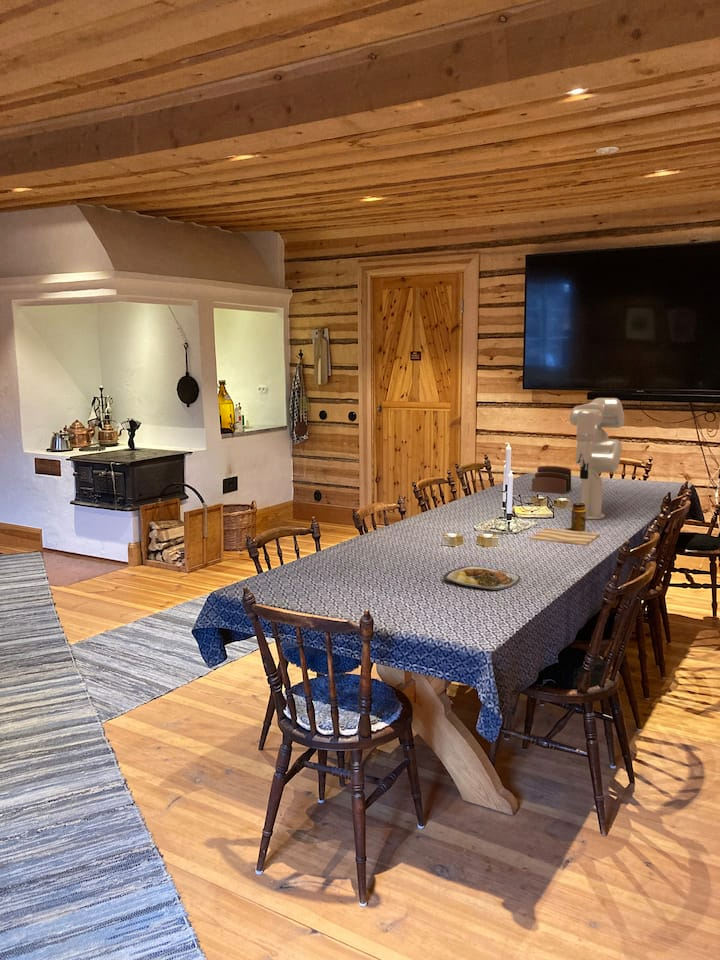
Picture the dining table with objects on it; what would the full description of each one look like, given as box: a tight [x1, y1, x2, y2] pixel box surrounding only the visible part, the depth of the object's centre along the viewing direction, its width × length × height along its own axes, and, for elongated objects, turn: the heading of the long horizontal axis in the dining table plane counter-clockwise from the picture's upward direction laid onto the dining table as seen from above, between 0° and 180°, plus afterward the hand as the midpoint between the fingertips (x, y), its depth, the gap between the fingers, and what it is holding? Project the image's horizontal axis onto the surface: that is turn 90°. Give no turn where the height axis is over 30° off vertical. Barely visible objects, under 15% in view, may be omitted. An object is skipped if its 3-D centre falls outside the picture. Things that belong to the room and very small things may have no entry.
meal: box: [442, 565, 521, 591], centre depth 273 cm, size 25×25×3 cm
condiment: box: [564, 502, 588, 532], centre depth 344 cm, size 7×8×12 cm
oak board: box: [529, 527, 601, 547], centre depth 331 cm, size 20×24×1 cm
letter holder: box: [531, 465, 572, 495], centre depth 440 cm, size 10×20×14 cm, turn 58°
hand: (584, 478), depth 349 cm, fingers closed
